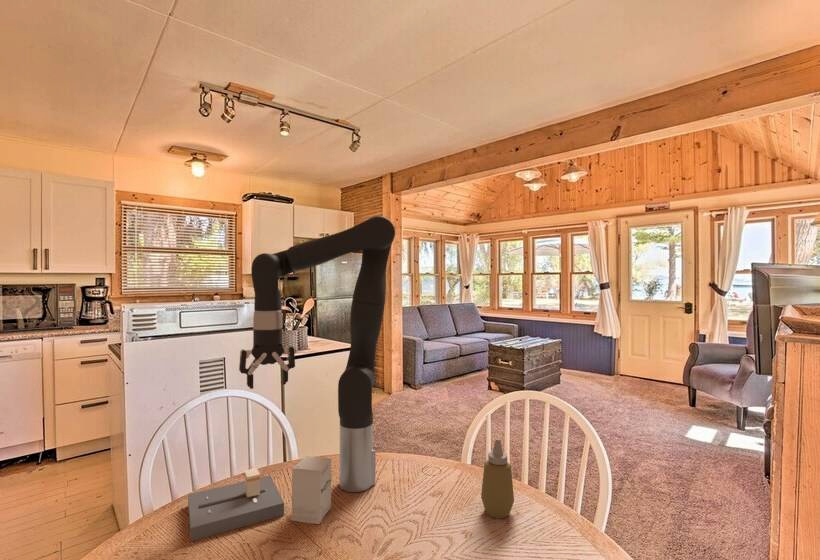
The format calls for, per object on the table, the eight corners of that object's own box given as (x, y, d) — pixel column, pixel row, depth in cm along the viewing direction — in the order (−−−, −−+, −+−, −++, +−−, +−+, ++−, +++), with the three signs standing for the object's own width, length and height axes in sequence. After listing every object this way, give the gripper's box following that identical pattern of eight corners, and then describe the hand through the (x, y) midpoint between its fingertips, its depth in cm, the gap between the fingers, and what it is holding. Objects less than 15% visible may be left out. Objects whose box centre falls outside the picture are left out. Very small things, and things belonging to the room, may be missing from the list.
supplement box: (319, 525, 95) (320, 471, 95) (290, 521, 97) (291, 468, 96) (332, 507, 102) (332, 457, 102) (304, 504, 104) (305, 454, 104)
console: (270, 485, 113) (270, 474, 113) (284, 515, 99) (284, 501, 99) (188, 506, 103) (188, 493, 103) (190, 541, 89) (190, 527, 89)
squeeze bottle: (520, 511, 101) (520, 439, 101) (503, 526, 95) (504, 449, 95) (491, 499, 106) (492, 431, 106) (474, 512, 101) (474, 439, 101)
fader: (257, 487, 105) (257, 467, 105) (260, 494, 102) (260, 474, 102) (244, 490, 104) (244, 470, 104) (246, 497, 100) (247, 477, 100)
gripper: (290, 324, 118) (290, 379, 118) (238, 326, 111) (237, 386, 111) (297, 326, 112) (297, 385, 112) (242, 329, 104) (241, 393, 104)
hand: (267, 386), depth 111 cm, fingers open, 8 cm apart
